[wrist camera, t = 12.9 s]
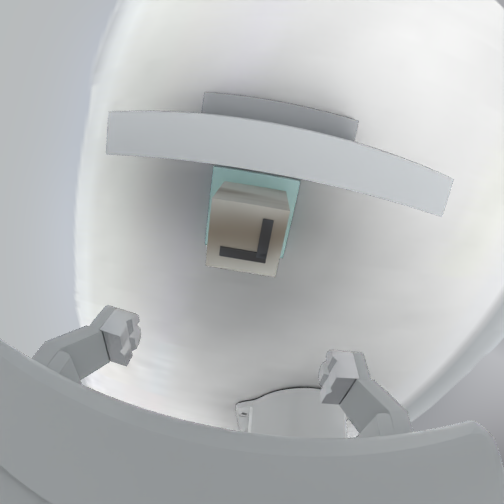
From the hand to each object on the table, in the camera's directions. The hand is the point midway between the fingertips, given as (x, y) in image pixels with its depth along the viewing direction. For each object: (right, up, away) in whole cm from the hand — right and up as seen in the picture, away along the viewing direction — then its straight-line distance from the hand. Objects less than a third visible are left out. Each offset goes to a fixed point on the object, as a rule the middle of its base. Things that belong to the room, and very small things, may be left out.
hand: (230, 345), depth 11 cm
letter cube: (+1, +7, +12) cm, 14 cm away
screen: (+3, +13, +9) cm, 16 cm away
